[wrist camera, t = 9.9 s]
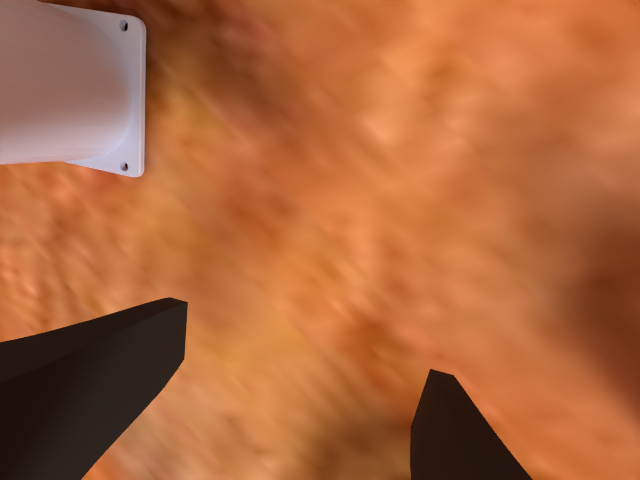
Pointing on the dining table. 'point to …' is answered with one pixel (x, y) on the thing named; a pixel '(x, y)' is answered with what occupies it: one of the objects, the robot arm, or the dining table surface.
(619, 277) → the dining table surface
